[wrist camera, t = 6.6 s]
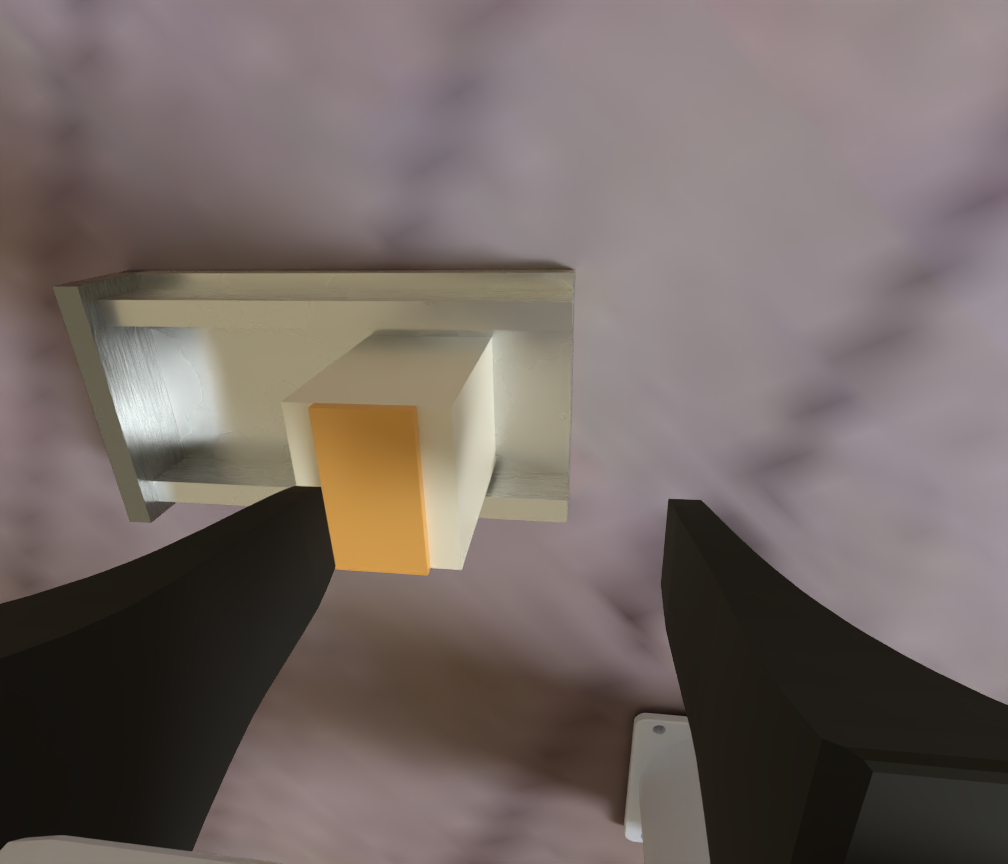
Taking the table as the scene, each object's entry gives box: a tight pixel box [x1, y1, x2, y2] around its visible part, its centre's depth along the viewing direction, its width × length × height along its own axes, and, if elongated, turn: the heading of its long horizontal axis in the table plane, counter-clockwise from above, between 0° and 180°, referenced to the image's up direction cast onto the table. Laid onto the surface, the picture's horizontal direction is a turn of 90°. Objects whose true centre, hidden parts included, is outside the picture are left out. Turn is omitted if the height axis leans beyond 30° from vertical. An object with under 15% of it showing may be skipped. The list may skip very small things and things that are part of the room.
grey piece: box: [53, 270, 575, 523], centre depth 19 cm, size 15×8×3 cm, turn 91°
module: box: [281, 336, 496, 575], centre depth 17 cm, size 4×4×6 cm
